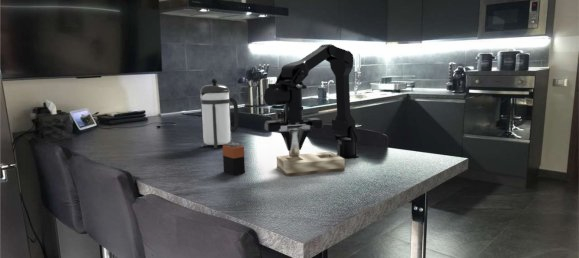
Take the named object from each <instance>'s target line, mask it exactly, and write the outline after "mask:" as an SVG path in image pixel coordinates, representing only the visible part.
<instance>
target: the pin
mask: <svg viewBox="0 0 579 258" xmlns="http://www.w3.org/2000/svg"><path fill="white" fill-rule="evenodd" d="M288 131H289V133H290V151H288V155H289V157H299V156H300V154H301V153H300V151H301V150H299V129H298V128H288Z"/></svg>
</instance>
